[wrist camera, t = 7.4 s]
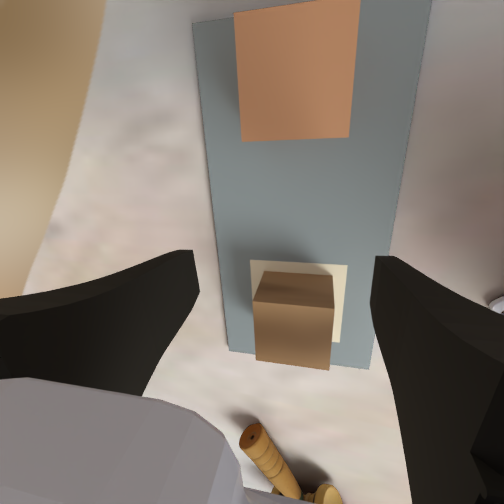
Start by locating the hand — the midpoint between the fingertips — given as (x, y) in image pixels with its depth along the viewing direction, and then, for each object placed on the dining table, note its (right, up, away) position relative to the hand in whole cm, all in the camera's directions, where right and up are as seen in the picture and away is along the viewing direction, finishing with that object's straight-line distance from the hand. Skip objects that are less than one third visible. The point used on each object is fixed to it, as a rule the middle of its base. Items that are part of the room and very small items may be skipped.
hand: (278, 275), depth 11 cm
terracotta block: (+2, +10, +4) cm, 11 cm away
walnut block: (+2, -3, +10) cm, 11 cm away
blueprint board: (+2, +3, +8) cm, 9 cm away
